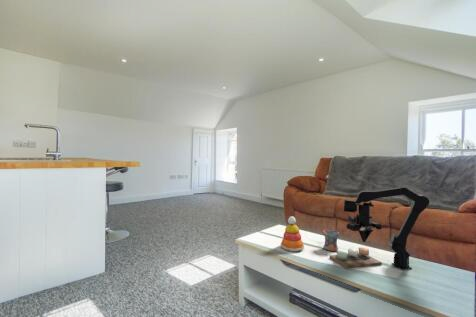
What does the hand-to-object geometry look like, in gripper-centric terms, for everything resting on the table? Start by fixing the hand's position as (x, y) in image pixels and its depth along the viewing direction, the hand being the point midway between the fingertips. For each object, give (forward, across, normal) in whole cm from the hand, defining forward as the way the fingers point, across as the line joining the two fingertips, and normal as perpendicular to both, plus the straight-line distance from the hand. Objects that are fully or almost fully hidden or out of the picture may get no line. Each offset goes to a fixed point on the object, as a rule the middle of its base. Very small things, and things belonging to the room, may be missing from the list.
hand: (363, 241), depth 130 cm
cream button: (+7, +7, 0) cm, 9 cm away
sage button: (+8, +14, 0) cm, 16 cm away
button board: (+10, +7, +1) cm, 12 cm away
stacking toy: (+10, +32, -23) cm, 40 cm away
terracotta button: (+7, 0, 0) cm, 7 cm away
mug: (+10, +8, -18) cm, 22 cm away
